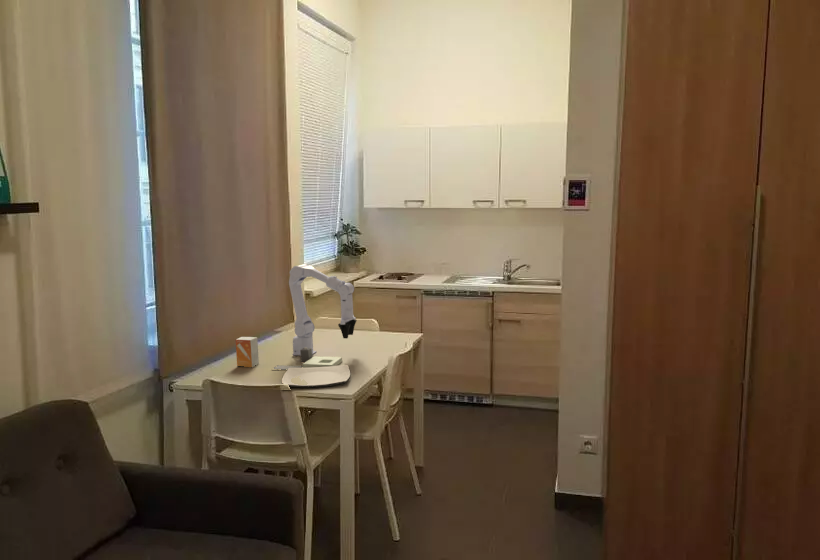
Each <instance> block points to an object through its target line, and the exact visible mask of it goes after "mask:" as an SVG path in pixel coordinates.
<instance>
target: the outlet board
mask: <svg viewBox="0 0 820 560" xmlns="http://www.w3.org/2000/svg"><path fill="white" fill-rule="evenodd" d="M342 362H343V356H317V355H315V356H312V358H311V359H309V360H308V361H306V362H305V363H302V366H303V368H309V367H329V366H339V365H340V364H341V363H342Z"/></svg>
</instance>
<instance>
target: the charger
mask: <svg viewBox="0 0 820 560" xmlns="http://www.w3.org/2000/svg"><path fill="white" fill-rule="evenodd" d="M300 353H301V355H300V363H301V362H306V361H308V360H309V359H311V358H312V357H313V354H312V348H307V347H305V348H303V349H301V350H300Z"/></svg>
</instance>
